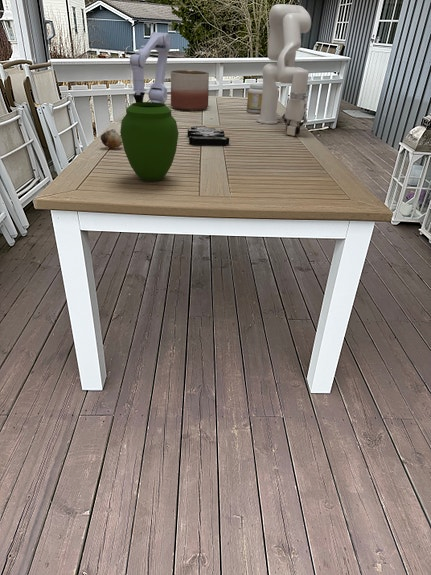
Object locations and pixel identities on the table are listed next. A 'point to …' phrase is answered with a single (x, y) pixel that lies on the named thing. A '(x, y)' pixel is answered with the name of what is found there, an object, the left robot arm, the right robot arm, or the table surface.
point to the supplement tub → (254, 98)
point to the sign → (207, 136)
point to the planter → (189, 90)
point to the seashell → (111, 139)
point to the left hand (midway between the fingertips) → (139, 107)
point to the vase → (149, 139)
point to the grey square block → (291, 130)
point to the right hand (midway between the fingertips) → (292, 133)
